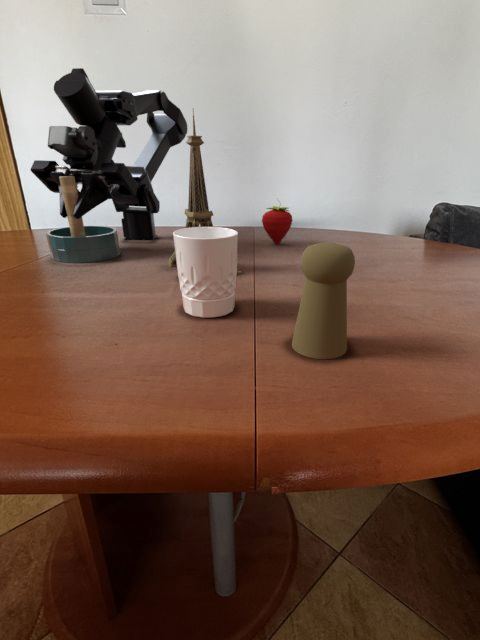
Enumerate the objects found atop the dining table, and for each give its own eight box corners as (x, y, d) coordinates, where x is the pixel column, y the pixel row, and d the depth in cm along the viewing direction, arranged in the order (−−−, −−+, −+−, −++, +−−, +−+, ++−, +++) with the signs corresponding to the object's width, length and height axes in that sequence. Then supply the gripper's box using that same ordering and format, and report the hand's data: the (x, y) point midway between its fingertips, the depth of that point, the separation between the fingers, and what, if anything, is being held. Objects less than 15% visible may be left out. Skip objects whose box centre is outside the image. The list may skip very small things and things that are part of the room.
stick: (97, 250, 73) (84, 176, 67) (89, 255, 69) (74, 177, 63) (74, 249, 73) (59, 175, 66) (65, 255, 69) (47, 177, 63)
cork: (287, 334, 44) (293, 238, 39) (338, 333, 44) (351, 238, 39) (296, 359, 38) (304, 251, 33) (354, 358, 39) (370, 251, 34)
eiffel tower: (241, 273, 66) (241, 103, 54) (184, 281, 61) (169, 97, 49) (216, 260, 74) (210, 109, 62) (163, 266, 69) (147, 104, 57)
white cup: (247, 303, 53) (247, 229, 48) (224, 324, 46) (221, 241, 42) (196, 296, 55) (192, 224, 50) (167, 314, 48) (159, 235, 44)
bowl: (128, 250, 79) (124, 226, 77) (109, 266, 68) (104, 237, 66) (68, 250, 79) (63, 225, 76) (40, 265, 68) (33, 236, 65)
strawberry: (256, 243, 89) (256, 197, 84) (281, 240, 92) (283, 196, 88) (270, 248, 84) (272, 200, 80) (296, 244, 88) (299, 199, 83)
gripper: (24, 108, 65) (-13, 181, 61) (118, 108, 61) (86, 186, 57) (66, 159, 76) (37, 224, 71) (149, 161, 72) (124, 231, 67)
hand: (68, 216), depth 66 cm, fingers closed on stick, 2 cm apart
